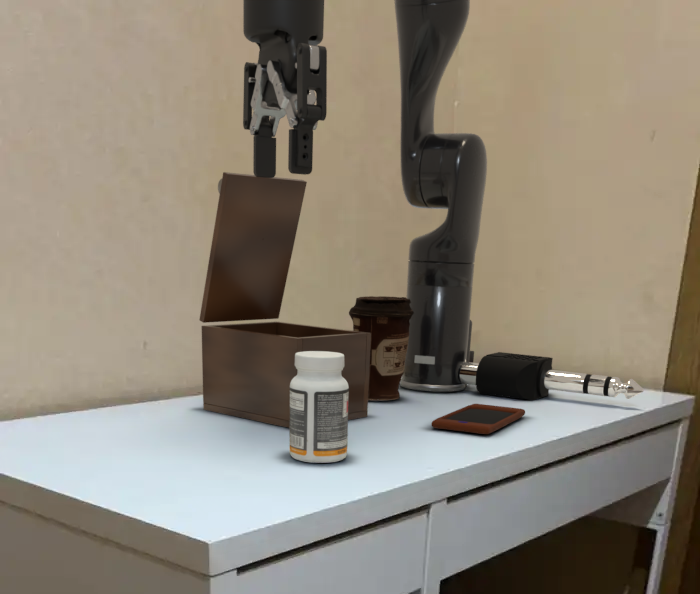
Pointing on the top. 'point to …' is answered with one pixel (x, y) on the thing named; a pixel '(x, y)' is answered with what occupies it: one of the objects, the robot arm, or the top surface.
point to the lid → (251, 247)
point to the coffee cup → (384, 341)
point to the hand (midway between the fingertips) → (281, 175)
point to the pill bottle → (319, 408)
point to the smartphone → (478, 418)
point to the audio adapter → (537, 378)
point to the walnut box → (275, 367)
